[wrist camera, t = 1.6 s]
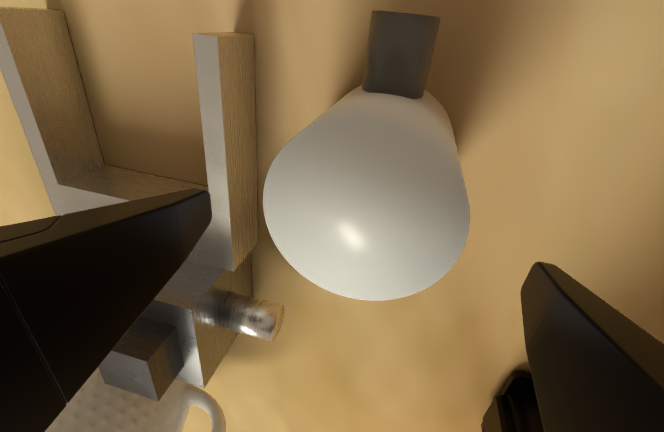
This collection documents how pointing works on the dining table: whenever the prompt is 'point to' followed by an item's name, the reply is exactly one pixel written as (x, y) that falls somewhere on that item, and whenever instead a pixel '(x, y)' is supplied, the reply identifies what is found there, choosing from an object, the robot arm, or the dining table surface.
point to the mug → (133, 409)
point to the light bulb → (374, 177)
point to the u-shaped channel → (126, 185)
